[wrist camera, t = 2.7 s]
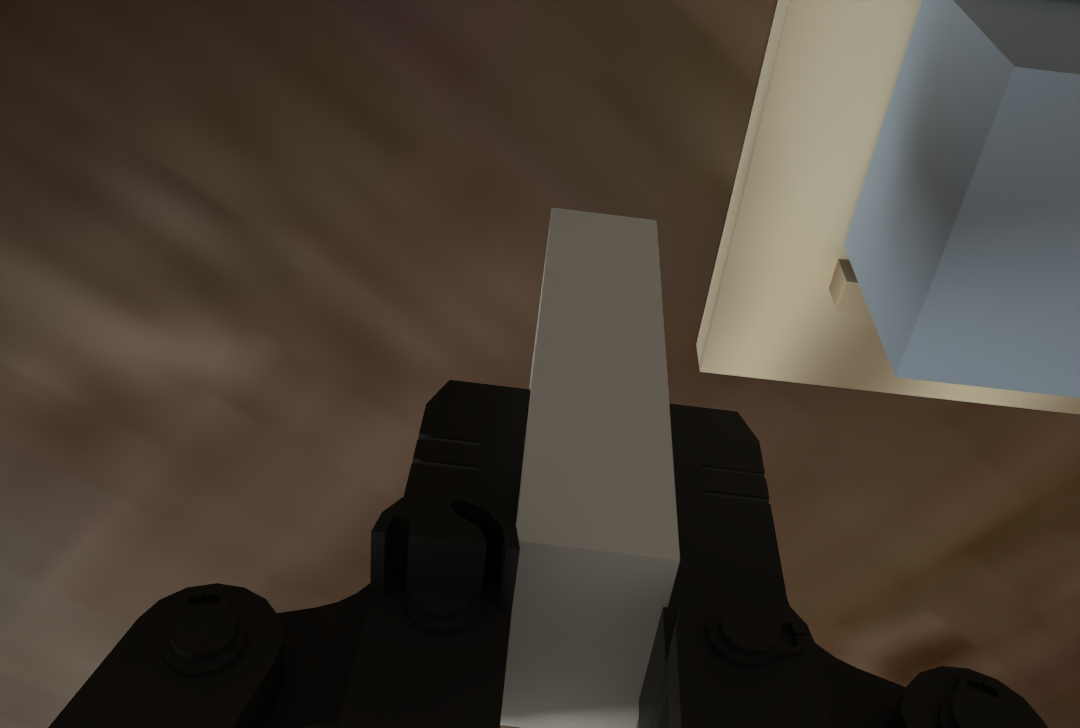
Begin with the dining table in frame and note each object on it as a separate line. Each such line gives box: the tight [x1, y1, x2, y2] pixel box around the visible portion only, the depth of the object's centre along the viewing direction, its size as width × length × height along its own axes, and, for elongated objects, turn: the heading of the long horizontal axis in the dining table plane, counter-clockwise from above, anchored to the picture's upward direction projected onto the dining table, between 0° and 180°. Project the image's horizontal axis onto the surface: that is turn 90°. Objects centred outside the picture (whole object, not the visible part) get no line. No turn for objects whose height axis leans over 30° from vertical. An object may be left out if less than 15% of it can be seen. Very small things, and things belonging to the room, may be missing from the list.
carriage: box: [844, 0, 1080, 398], centre depth 20 cm, size 5×7×5 cm
